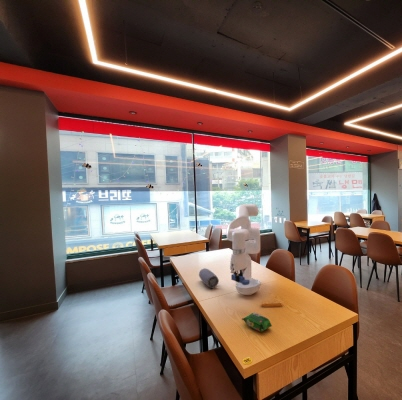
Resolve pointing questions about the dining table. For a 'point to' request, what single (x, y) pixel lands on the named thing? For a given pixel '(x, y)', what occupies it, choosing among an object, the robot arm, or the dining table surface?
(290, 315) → the dining table surface
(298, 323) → the dining table surface
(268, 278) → the dining table surface
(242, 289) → the cereal bowl
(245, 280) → the blue notched block
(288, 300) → the dining table surface
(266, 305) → the fry
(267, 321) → the snack package
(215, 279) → the bluetooth speaker
